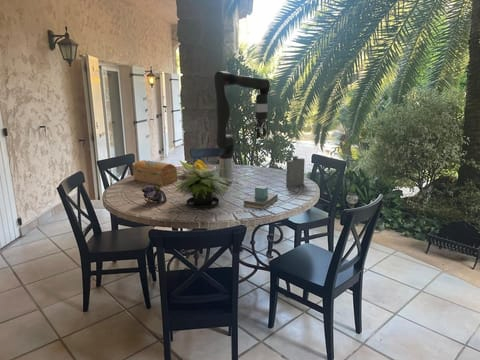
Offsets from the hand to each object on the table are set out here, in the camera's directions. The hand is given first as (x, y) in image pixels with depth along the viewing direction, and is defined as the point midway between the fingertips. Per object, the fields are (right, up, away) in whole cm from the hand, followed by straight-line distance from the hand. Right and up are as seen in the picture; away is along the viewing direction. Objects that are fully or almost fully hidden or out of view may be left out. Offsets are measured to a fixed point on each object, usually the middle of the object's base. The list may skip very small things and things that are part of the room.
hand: (261, 137), depth 222 cm
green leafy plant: (-43, -32, +13) cm, 55 cm away
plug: (-1, -39, -21) cm, 44 cm away
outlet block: (-1, -40, -20) cm, 45 cm away
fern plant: (-35, -41, -22) cm, 58 cm away
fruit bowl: (-46, -24, +47) cm, 70 cm away
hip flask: (+24, -31, +15) cm, 42 cm away
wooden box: (-75, -28, +32) cm, 86 cm away
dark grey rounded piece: (-64, -41, -19) cm, 78 cm away
